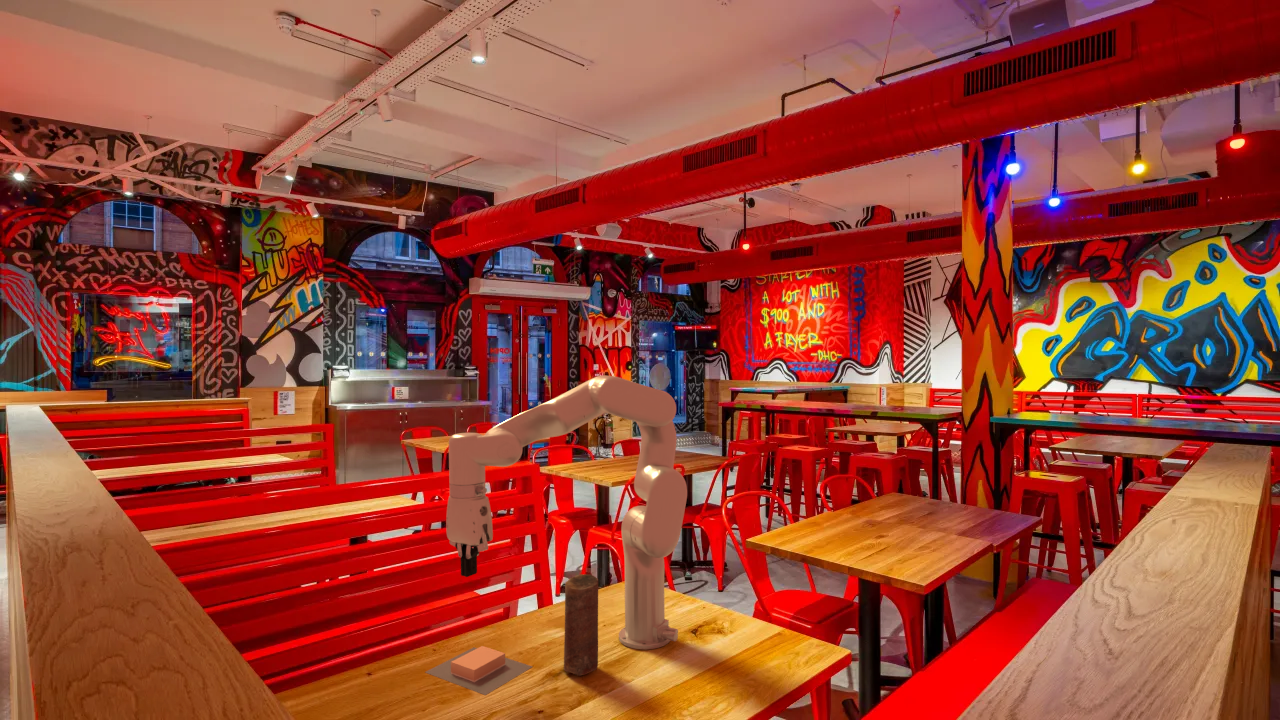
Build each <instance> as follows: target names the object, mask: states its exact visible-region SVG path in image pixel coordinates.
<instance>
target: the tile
mask: <svg viewBox="0 0 1280 720" xmlns="http://www.w3.org/2000/svg"><path fill="white" fill-rule="evenodd" d="M476 648H477V649H475V650H473V651H471V652H469V653H467V654H465V655H463V656H462V657H460V658H458V659H456V660H454V661H452V662H451V674H453V675H456V676H459V677H462V678H464V679H467V680H470V681H472V682H476V681H477V680H479V679H481V678H483V677H485V676H486V675H488V674H490V673H492V672H493V671H495V670H497V669H499V668H500V667H502V666H504V665H505V658H506V653H505V652H502V651H499V650H496V649H492V648H490V647H487V646H483V645H481V646H480V647H476Z"/></svg>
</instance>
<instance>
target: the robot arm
mask: <svg viewBox="0 0 1280 720" xmlns="http://www.w3.org/2000/svg"><path fill="white" fill-rule="evenodd" d="M605 414H610V415H611V416H615V417H619V418H621V419H625V420H628V421H631V422H635V423H636V425H637V426H638V428H639V431H640V437H641V440H640V448H639V449H640V451H639V456H638V461H637V465H636V466H637V467H636V471H635V476H634V481H633V488H634V491H635V494H636V495H637V496H638V498H639V499H642V500H643V501H645V502H646V505H637V506H633V507H632V508H630V509H629V510H628V511H627V512H626V513H625V515H624V516H623V519H622V521H621V522H622V523H621V527H620V528H621V538H622V539H621V540H622V547H623V555H624V557H623V558H624V627H623V628H622V629H620V631H619V632H618V640H619V642H620V643H621V644H622V645H624V646H625V647H628V648H631V649H635V650H654V649H659V648H662V647H664V646H666V645H667V644H669V643H670V642H671V641H672V642H677V641H678V637H679V629H678V628H674V627H670V626H669V625H670V624H669V619H666V618H665V617H666V616H665V613H666V612H665V559H664V558H665V557H667V556H669V555H670V554H672V553H673V551H674V550H675V549H676V547H677V546H678V543H679V540H680V536H681V531H682V527H683V520H684V516H685V509H686V504H687V499H688V486H687V482H686V480H685V478H684V477H683V474H681V472H679V471H678V470H677V469H675V468H674V466H675V465H674V464H675V458H676V449H677V432H676V427H675V423H674V421H673V420H674V419H675V417H676V414H677V404H676V402H675V399H674V398H673V397H672V395H670V393H668V392H667V391H666V390H665V391H664V390H661V389H659V388H658V389H657V388H655V387H651V386H647V385H644V384H641V383H637V382H635V381H631V380H628V379H625V378H623V377H619V376H614V375H604V374H603V375H598V376H595V377H593V378H591V379H589V380H585V382H583V383H580V384H578V385H577V386H576V387H574V388H572V389H569V390H568V391H566V392H564V393H561V394H560V395H557V396H556V397H554V398H551V399H550V400H548V401H546V402H543V403H541V404H539V405H537V406H535V407H533V408H530V409H528V410H525V411H523V412H520V413H519V414H517V415H514V416H513V417H511V418H508V419H506V420H505V421H503V422H501V423H499V424H497V425H495V426H494V427H492V428H490V429H489V430H487V431H486V433H484V435H483V434H481V433H478V432H460V433H455V434H452V435H451V436H450V437H449V439H448V468H449V469H448V471H449V472H448V473H449V475H448V477H449V478H448V479H449V480H448V481H449V496H448V499H447V507H446V519H445V520H446V521H445V523H446V524H445V525H446V526H445V528H446V531H445V532H446V537H447V539H448V540H449V542H448V543H449V544H450V545H451V546H453V547H454V548H455V549H456V550H457V555H458V557H459V558H460V576H462V577H465V578H469V577H471V576H473V575H477V573H478V556H479V555H480V553H481V552H484V551H487V550H489V546H488V545H489V544H488V543H489V542H491V541H493V537H494V532H493V531H494V530H493V528H494V527H493V517H492V510H491V504H490V500H489V496H486V493H488V488H486V467H487V466H488V467H499V468H500V467H502V468H503V467H509V466H512V465H514V464H516V463H517V462H519V460H520V459H521V457H522V454H523V448H524V447H526V446H528V445H530V444H532V443H534V442H536V441H539V440H543V439H546V438H554V437H555V438H556V437H560V436H563V435H567V434H570V433H571V432H573V431H574V430H576V429H578V428H580V427H582V426H583V425H585V424H587V423H589V422H592V421H593V420H594V419H597V418H598V417H600V416H602V415H605Z"/></svg>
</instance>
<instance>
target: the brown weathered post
mask: <svg viewBox="0 0 1280 720" xmlns="http://www.w3.org/2000/svg"><path fill="white" fill-rule="evenodd" d="M564 584H565V587H564V591H565V592H564V641H563V642H564V643H563V644H564V645H563V647H564V648H563V669H564V671H565V672H566V673H571V674H573V675H574V676H578V677H581V676H585V675H587V674H589V673H591V672H593V671H596V670H597V669H598V666H599V579H598V578H597V576H595V575H593V574H584V573H583V574H582V573H581V574H577V575H574V576H572V577H570V578H569V579H567V580H566V581H565V582H564Z"/></svg>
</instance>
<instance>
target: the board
mask: <svg viewBox="0 0 1280 720" xmlns="http://www.w3.org/2000/svg"><path fill="white" fill-rule="evenodd" d="M477 648H478V647H476V646H475V647H471V648H470V649H468V650H465V651H464V652H462V653H460V654H458V655H455V656H453V658H450V659H448V660H446V661H444V662H442V663H441V664H438V665H436V666H435V667H432V668H430V669H428V670H426V671H425V672H424V673H425V674H427V675H430V676H433V677H435V678H438V679H441V680H444V681H446V682H449V683H452V684H453V685H454V684H455V685H457V686H460V687H462V688H465V689H468V690H471V691H473V692H476V693H478V694H481V695H484V696H487V695H489V694H490V693H492V692H493V691H495V690H497V689H499V688H500V687H502V686H503V685H505V684H507V683H509V682H510V681H512V680H513V679H515V678H517V677H518V676H520V675H522V674H524V673H525V672H526V671H528V670H530V669H532V668H533V666H532V665H528V664H527V663H523V662H520V661H516V660H514V659H512V658H511V659H510V658H508V657H505V665H504V666H502V667H500V668H499V669H497V670H495V671H493V672H492V673H490V674H488V675H486V676H485V677H483V678H481V679H479V680H477V681H476V682H472V681H470V680H467V679H464V678H462V677H459V676H456V675H453V674H451V662H452V661H454V660H456V659H458V658H460V657H462V656H463V655H465V654H467V653H469V652H471V651H473V650H475V649H477Z"/></svg>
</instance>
